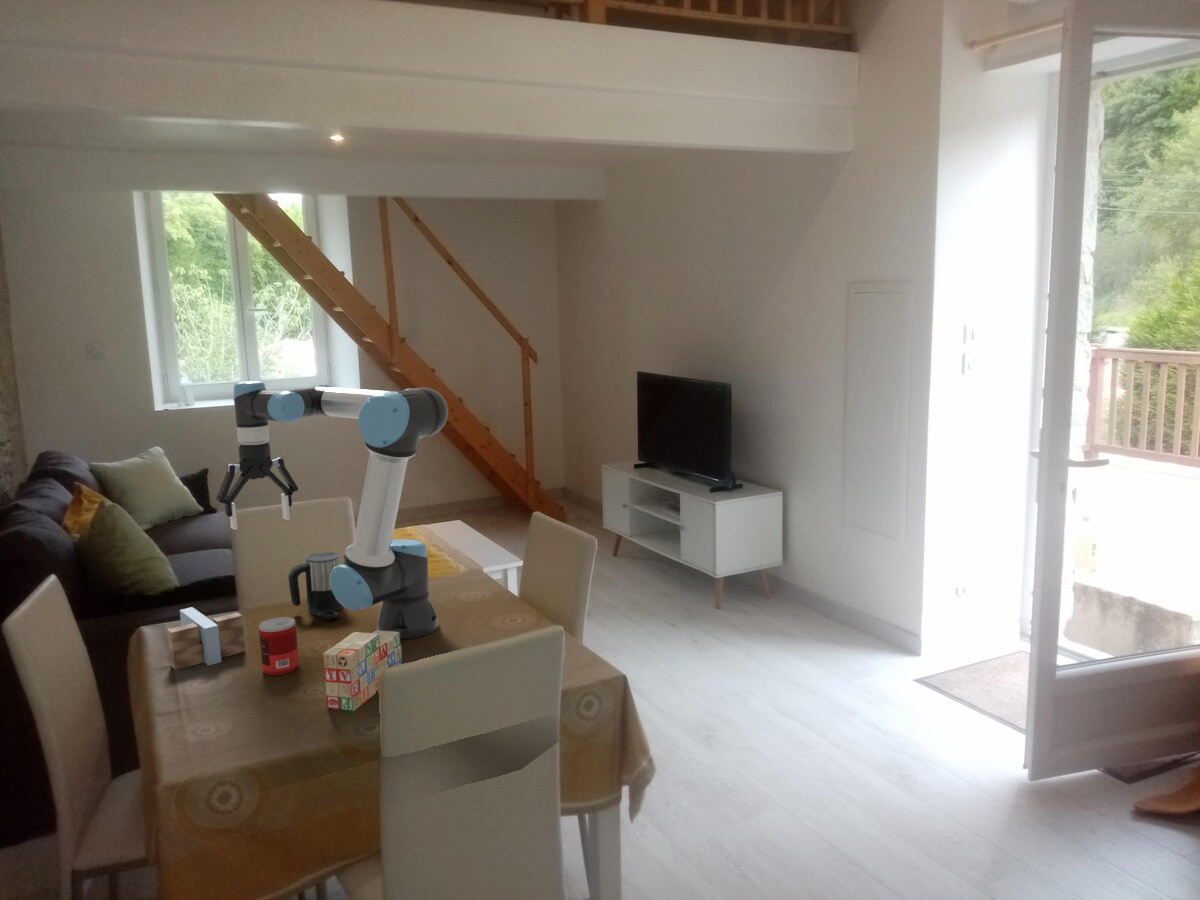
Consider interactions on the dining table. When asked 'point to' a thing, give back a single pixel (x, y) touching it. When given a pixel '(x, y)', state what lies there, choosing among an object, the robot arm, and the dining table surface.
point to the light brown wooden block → (191, 650)
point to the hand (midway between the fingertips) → (260, 523)
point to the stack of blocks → (358, 667)
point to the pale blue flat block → (204, 633)
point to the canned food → (278, 645)
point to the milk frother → (316, 584)
